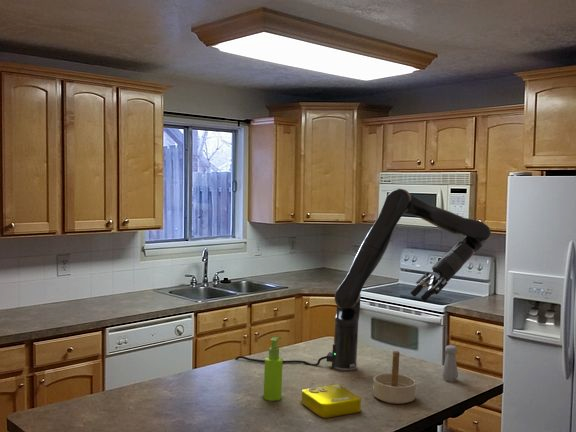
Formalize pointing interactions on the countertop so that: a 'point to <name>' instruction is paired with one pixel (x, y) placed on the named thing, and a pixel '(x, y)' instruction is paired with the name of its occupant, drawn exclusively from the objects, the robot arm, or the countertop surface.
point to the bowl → (394, 388)
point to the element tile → (331, 401)
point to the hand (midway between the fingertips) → (417, 297)
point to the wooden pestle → (395, 369)
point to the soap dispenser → (273, 373)
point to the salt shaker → (450, 364)
